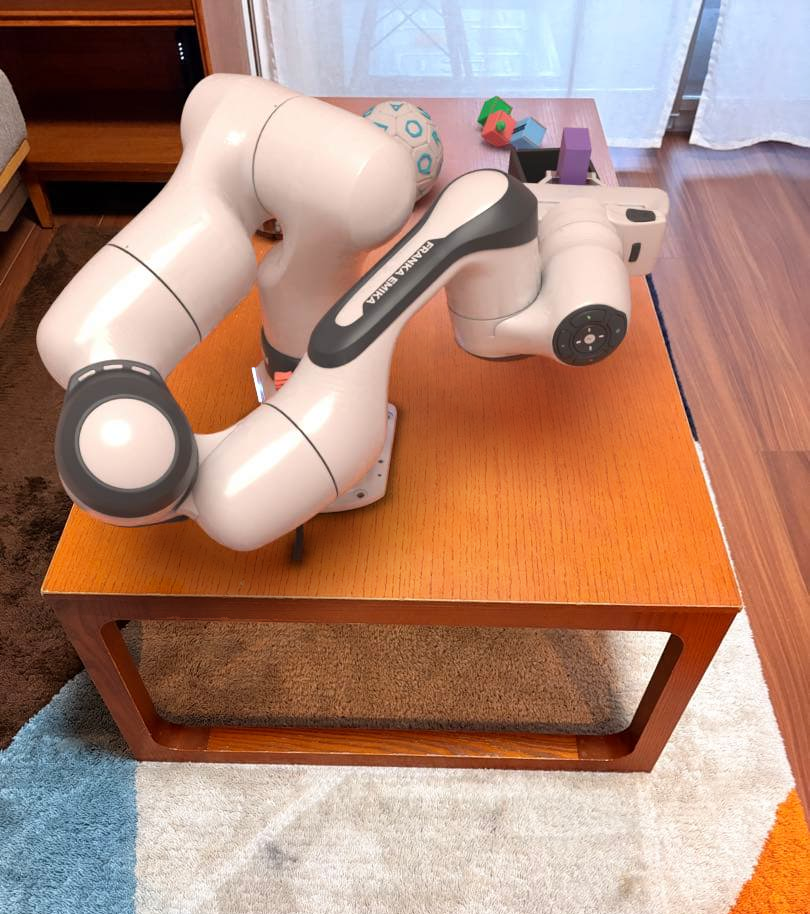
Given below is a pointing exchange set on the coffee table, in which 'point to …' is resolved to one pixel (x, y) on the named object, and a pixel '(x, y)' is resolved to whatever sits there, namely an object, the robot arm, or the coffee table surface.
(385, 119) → the puzzle ball
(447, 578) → the coffee table surface
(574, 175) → the purple rectangular block
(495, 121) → the building blocks
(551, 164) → the trash can
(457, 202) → the robot arm
